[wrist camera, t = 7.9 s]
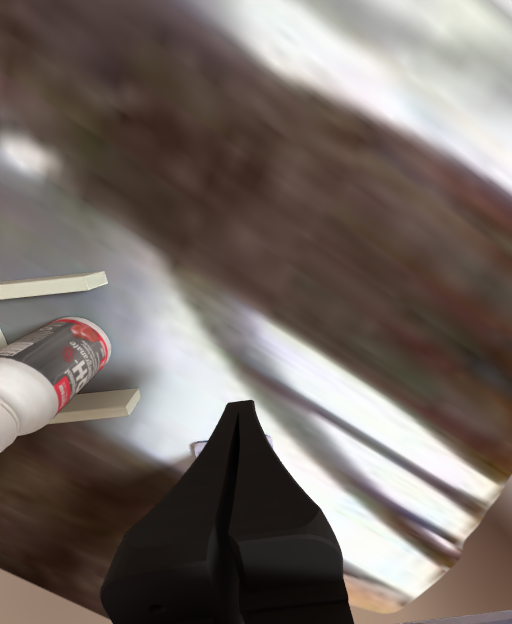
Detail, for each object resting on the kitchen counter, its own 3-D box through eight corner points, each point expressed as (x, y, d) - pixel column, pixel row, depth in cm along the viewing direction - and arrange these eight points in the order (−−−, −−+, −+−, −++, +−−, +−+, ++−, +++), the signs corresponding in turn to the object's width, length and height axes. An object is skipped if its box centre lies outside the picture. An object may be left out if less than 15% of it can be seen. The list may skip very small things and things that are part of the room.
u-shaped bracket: (141, 396, 23) (128, 415, 20) (26, 408, 23) (0, 429, 20) (104, 271, 19) (83, 276, 17) (-33, 285, 19) (-74, 292, 17)
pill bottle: (125, 358, 21) (34, 461, 12) (73, 376, 22) (-50, 488, 13) (90, 305, 20) (-48, 381, 10) (34, 326, 20) (-144, 416, 11)
